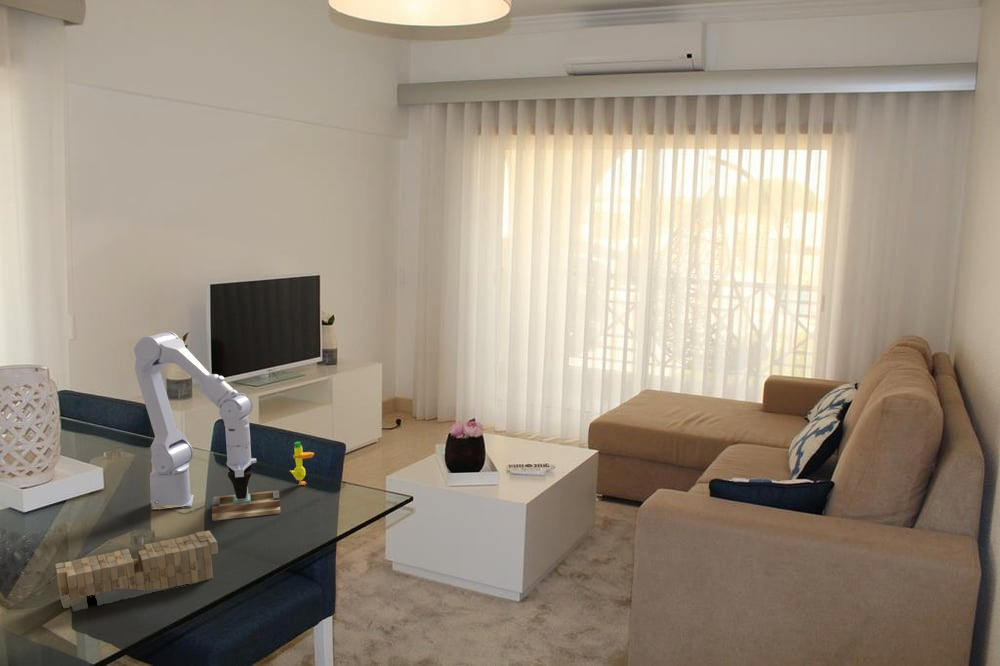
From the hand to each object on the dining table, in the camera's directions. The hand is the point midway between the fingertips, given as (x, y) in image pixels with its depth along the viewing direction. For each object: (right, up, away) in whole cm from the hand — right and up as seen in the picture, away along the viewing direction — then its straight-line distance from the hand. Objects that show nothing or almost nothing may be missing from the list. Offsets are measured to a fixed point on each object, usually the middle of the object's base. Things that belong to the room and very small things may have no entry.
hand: (241, 496), depth 211 cm
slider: (0, -2, 0) cm, 2 cm away
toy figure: (+11, -1, +18) cm, 21 cm away
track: (+1, -3, +1) cm, 4 cm away
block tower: (-7, -11, -42) cm, 44 cm away
